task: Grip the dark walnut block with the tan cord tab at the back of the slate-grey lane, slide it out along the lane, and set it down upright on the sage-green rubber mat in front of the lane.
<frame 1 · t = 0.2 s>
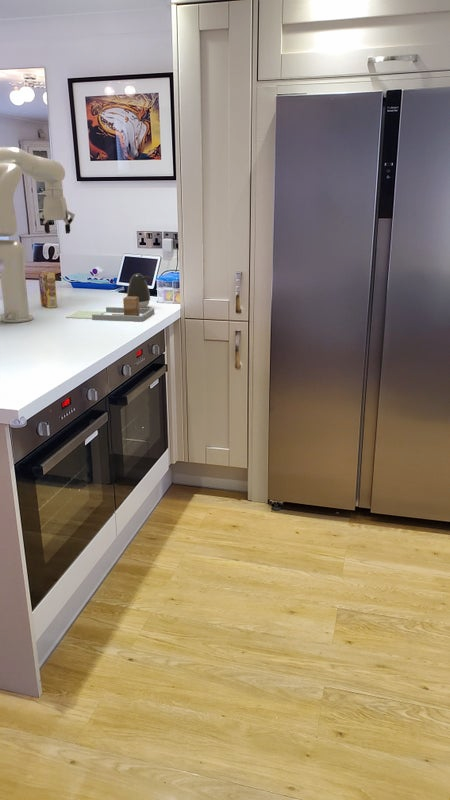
hand: (57, 233, 286), 31 cm above the worktop, tool pointing down, fingers open, 9 cm apart
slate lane: (115, 316, 261), on the worktop
dark grey tall ovoid: (139, 308, 279), on the worktop
walnut block: (131, 316, 260), on the worktop
candy box: (49, 307, 282), on the worktop
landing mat: (86, 315, 263), on the worktop
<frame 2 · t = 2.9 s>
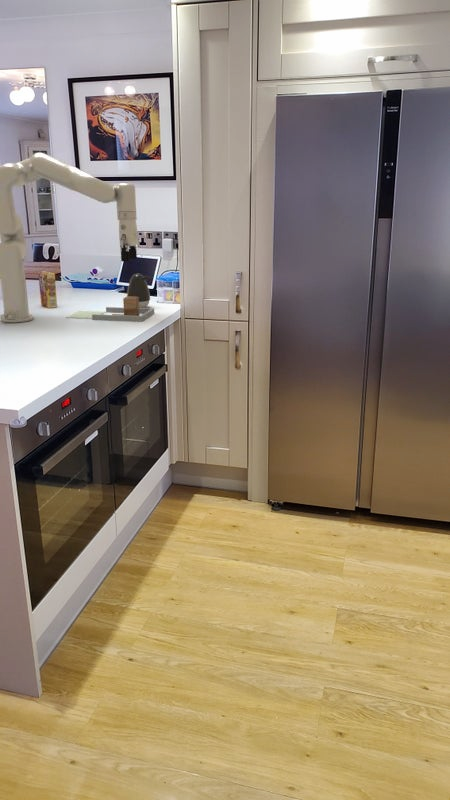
hand: (129, 260, 253), 23 cm above the worktop, tool pointing down, fingers open, 9 cm apart
nothing on the worktop moved.
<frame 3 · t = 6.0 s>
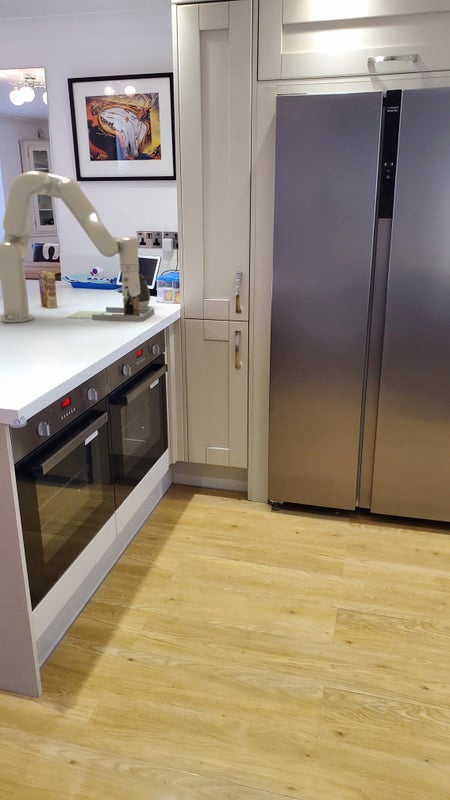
hand: (131, 312, 259), 2 cm above the worktop, tool pointing down, fingers closed on walnut block, 5 cm apart
walnut block: (131, 316, 260), on the worktop, touching gripper
everything else where it was.
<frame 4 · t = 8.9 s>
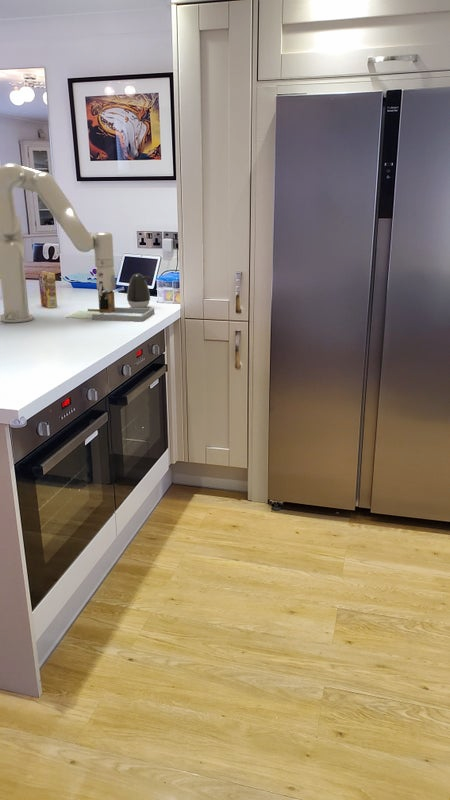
hand: (106, 307, 260), 4 cm above the worktop, tool pointing down, fingers closed on walnut block, 5 cm apart
walnut block: (107, 311, 261), point 2 cm above the worktop, touching gripper
everything else where it was.
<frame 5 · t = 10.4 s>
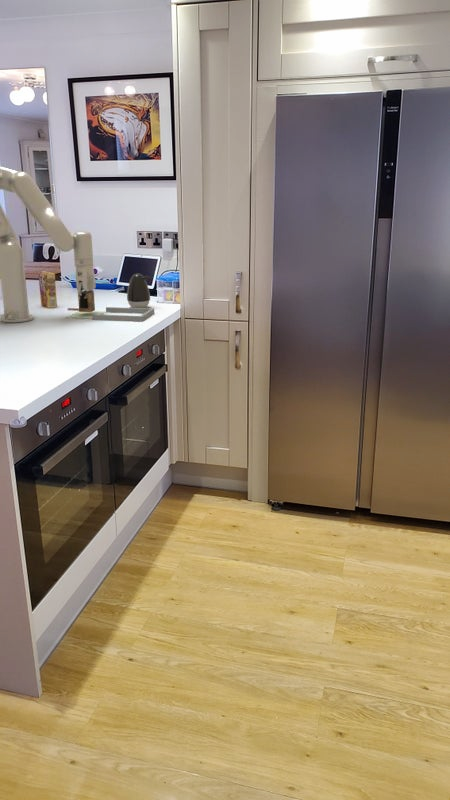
hand: (86, 306, 262), 4 cm above the worktop, tool pointing down, fingers closed on walnut block, 5 cm apart
walnut block: (87, 310, 263), point 2 cm above the worktop, touching gripper
everything else where it was.
when the fingers open (3 cm above the worktop, at t = 11.8 s): walnut block stays where it is, resting on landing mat.
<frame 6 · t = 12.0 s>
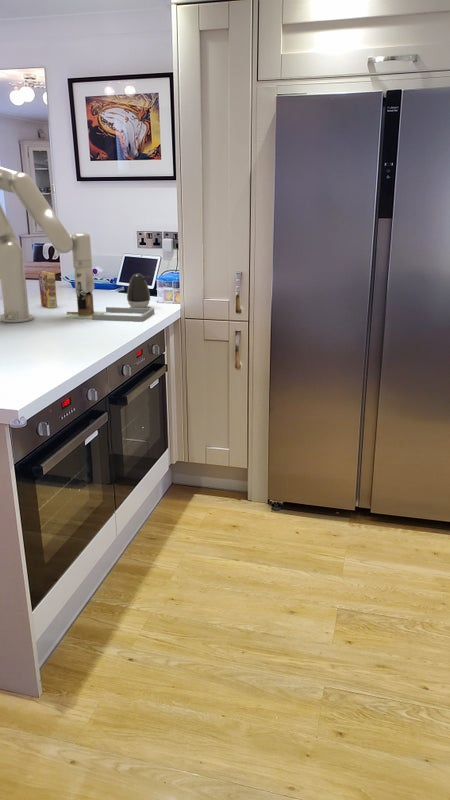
hand: (85, 306, 262), 3 cm above the worktop, tool pointing down, fingers open, 6 cm apart
walnut block: (86, 314, 263), resting on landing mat
everything else where it was.
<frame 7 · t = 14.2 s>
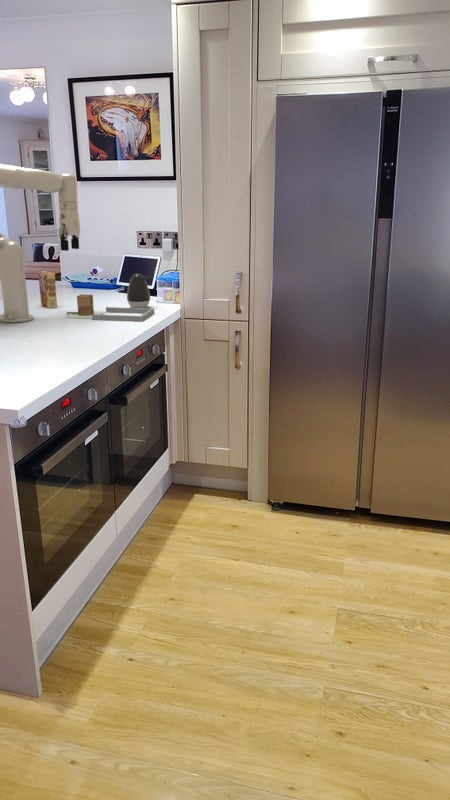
hand: (70, 249, 257), 27 cm above the worktop, tool pointing down, fingers open, 9 cm apart
nothing on the worktop moved.
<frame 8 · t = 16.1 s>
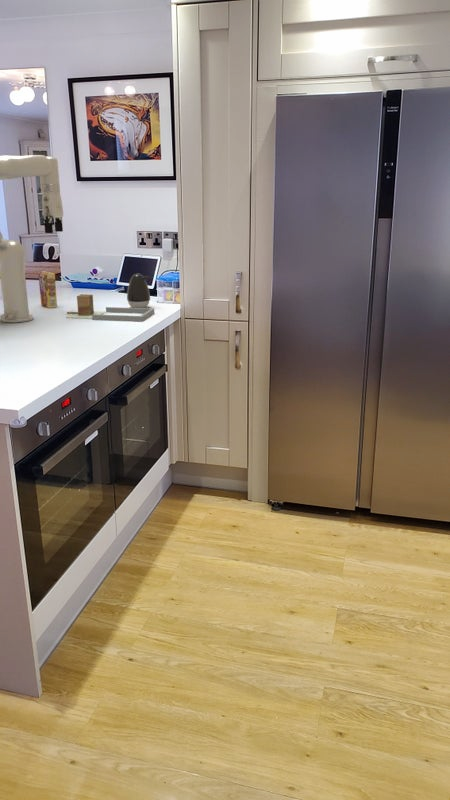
hand: (54, 232, 260), 33 cm above the worktop, tool pointing down, fingers open, 9 cm apart
nothing on the worktop moved.
at the end: walnut block inside the target area (0.1 cm from its centre), on the worktop; walnut block tilted 0°; the gripper is holding nothing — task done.
